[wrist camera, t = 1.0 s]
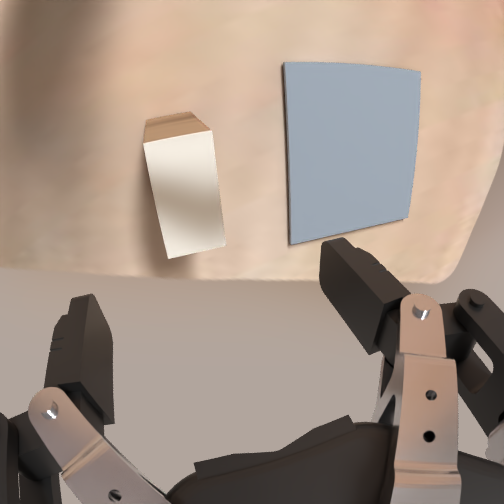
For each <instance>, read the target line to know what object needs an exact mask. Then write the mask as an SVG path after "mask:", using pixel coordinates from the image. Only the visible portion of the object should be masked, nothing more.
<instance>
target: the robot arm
mask: <svg viewBox="0 0 504 504" xmlns="http://www.w3.org/2000/svg"><path fill="white" fill-rule="evenodd" d="M319 281H320V285H321V288H322V290H323V292H324V294H325V295H326V297H327V298H328V299H329V301H330V302H331V303H332V305H333V306H334V307H335V309H336V310H337V311H338V313H339V314H340V315H341V317H342V318H343V320H344V321H345V322H346V324H347V325H348V327H349V328H350V329H351V331H352V332H353V333H354V335H355V336H356V338H357V339H358V340H359V342H360V343H361V345H362V346H363V347H364V349H365V350H366V352H367V353H368V354H369V355H371V354H373V353H375V352H378V351H381V352H382V353H383V358H382V363H381V371H380V380H379V388H378V396H377V402H376V407H375V410H374V413H373V416H372V420H371V422H357V423H353V422H352V420H351V418H350V417H349V415H346V416H344V417H342V418H339V419H337V420H334V421H332V422H330V423H327V424H324V425H322V426H319V427H317V428H314V429H312V430H311V431H309V432H308V433H306V434H305V435H303V436H302V437H300V438H299V439H297V440H295V441H294V442H292V443H291V444H289V445H287V446H286V447H284V448H283V449H281V450H279V451H274V452H262V453H242V454H231V455H227V456H222V457H218V458H214V459H210V460H205V461H200V462H195V463H194V466H195V470H196V472H195V473H192V474H190V475H189V476H187V477H185V478H184V479H182V480H181V481H180V482H179V483H177V484H176V485H175V486H174V487H173V488H172V489H171V490H170V491H169V492H168V493H167V494H166V493H165V492H164V491H162V490H161V489H160V488H159V487H158V486H157V485H155V484H154V483H153V482H152V481H151V480H149V479H148V478H147V477H146V476H145V475H144V474H142V473H141V472H140V471H139V470H138V469H137V468H136V467H135V466H134V465H133V464H132V463H131V462H130V461H128V459H126V457H124V455H122V454H121V453H120V452H119V451H118V449H116V447H115V446H114V445H112V443H111V442H110V441H109V440H108V439H107V438H106V437H105V436H104V425H108V424H114V423H115V422H114V403H113V341H112V334H111V331H110V328H109V325H108V323H107V321H106V319H105V317H104V315H103V313H102V311H101V309H100V306H99V304H98V302H97V300H96V298H95V296H94V295H93V294H88V295H84V296H79V297H75V298H72V299H71V302H70V306H69V311H68V314H67V315H62V316H61V318H60V320H59V321H58V323H57V324H56V326H55V328H54V332H53V337H52V342H51V347H50V351H51V352H49V358H48V364H47V370H46V377H45V384H44V389H42V390H40V391H39V392H37V393H36V395H34V397H33V398H32V400H31V401H30V404H29V407H28V411H26V412H24V413H22V414H20V415H17V416H15V417H13V418H10V419H7V418H6V417H5V416H4V415H3V414H2V413H0V504H62V501H61V492H60V484H59V472H62V471H63V473H62V474H61V475H62V478H63V480H64V481H65V483H66V484H67V485H68V487H69V488H70V489H71V490H72V492H73V493H74V494H75V495H76V497H77V498H78V499H79V500H80V501H81V503H82V504H504V313H503V312H502V311H501V310H500V309H499V308H498V306H496V304H495V303H494V302H493V301H492V300H491V299H490V298H489V297H488V296H487V295H485V294H484V293H482V292H480V291H478V290H475V289H466V290H463V291H462V292H461V293H460V294H459V297H458V299H457V302H456V303H447V304H438V303H437V302H436V301H435V300H434V299H433V298H431V297H429V296H427V295H424V294H411V293H410V292H409V291H408V290H407V289H406V288H405V287H404V286H403V285H402V284H401V283H400V282H399V281H398V280H397V279H396V278H395V277H394V276H393V275H392V274H391V273H390V272H389V271H387V270H386V268H385V267H384V266H383V265H382V264H380V263H379V261H378V260H377V259H376V258H375V257H374V256H373V255H371V254H370V253H368V252H366V251H364V250H362V249H360V248H355V247H353V246H352V245H351V244H350V243H349V242H348V241H347V240H346V239H345V238H343V237H341V238H337V239H333V240H329V241H324V242H323V243H322V245H321V257H320V272H319ZM476 342H478V344H479V345H480V346H481V347H482V349H483V350H484V351H485V352H486V354H487V355H488V356H489V357H490V359H491V360H492V362H493V367H494V368H493V373H491V372H490V371H489V370H488V368H487V367H486V366H485V364H484V363H483V362H482V361H481V359H480V358H479V357H478V356H477V354H476V353H475V352H474V350H473V348H474V345H475V344H476ZM458 393H459V395H460V396H461V397H462V399H463V400H464V402H465V403H466V405H467V406H468V408H469V409H470V411H471V412H472V414H473V415H474V417H475V418H476V420H477V421H478V423H479V424H480V426H481V427H482V429H483V431H484V432H485V434H486V435H487V437H488V448H487V449H486V452H485V454H486V457H487V459H489V460H487V459H483V458H480V457H477V456H473V455H470V454H467V453H464V452H461V451H458ZM490 460H492V461H490ZM18 473H19V483H18ZM19 487H20V498H19Z"/></svg>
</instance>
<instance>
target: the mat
mask: <svg viewBox="0 0 504 504" xmlns="http://www.w3.org/2000/svg"><path fill="white" fill-rule="evenodd" d="M283 69H284V86H285V104H286V125H287V149H288V179H289V223H290V244H291V245H292V244H297V243H301V242H305V241H310V240H314V239H318V238H323V237H327V236H331V235H336V234H340V233H344V232H349V231H353V230H357V229H362V228H366V227H370V226H375V225H379V224H383V223H387V222H392V221H396V220H400V219H405V218H408V213H409V207H410V201H411V194H412V187H413V179H414V171H415V162H416V152H417V141H418V129H419V112H420V83H421V72H420V71H413V70H406V69H399V68H391V67H382V66H373V65H361V64H346V63H323V62H283Z"/></svg>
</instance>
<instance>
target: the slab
mask: <svg viewBox="0 0 504 504" xmlns="http://www.w3.org/2000/svg"><path fill="white" fill-rule="evenodd" d="M143 145H144V151H145V156H146V162H147V167H148V172H149V177H150V182H151V186H152V191H153V196H154V201H155V205H156V210H157V214H158V218H159V223H160V227H161V231H162V236H163V240H164V244H165V248H166V252H167V256H168V259H170V258H175V257H179V256H184V255H188V254H192V253H197V252H201V251H206V250H210V249H215V248H219V247H224V246H226V238H225V231H224V223H223V216H222V208H221V200H220V192H219V184H218V176H217V168H216V159H215V151H214V142H213V134H212V131H211V130H210V129H209V128H208V127H207V126H206V125H205V124H204V123H202V122H201V121H200V120H199V119H198V118H197V117H196V116H195V115H193V114H192V113H191V112H185V113H180V114H174V115H169V116H164V117H159V118H154V119H149V120H146V127H145V135H144V143H143Z"/></svg>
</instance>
